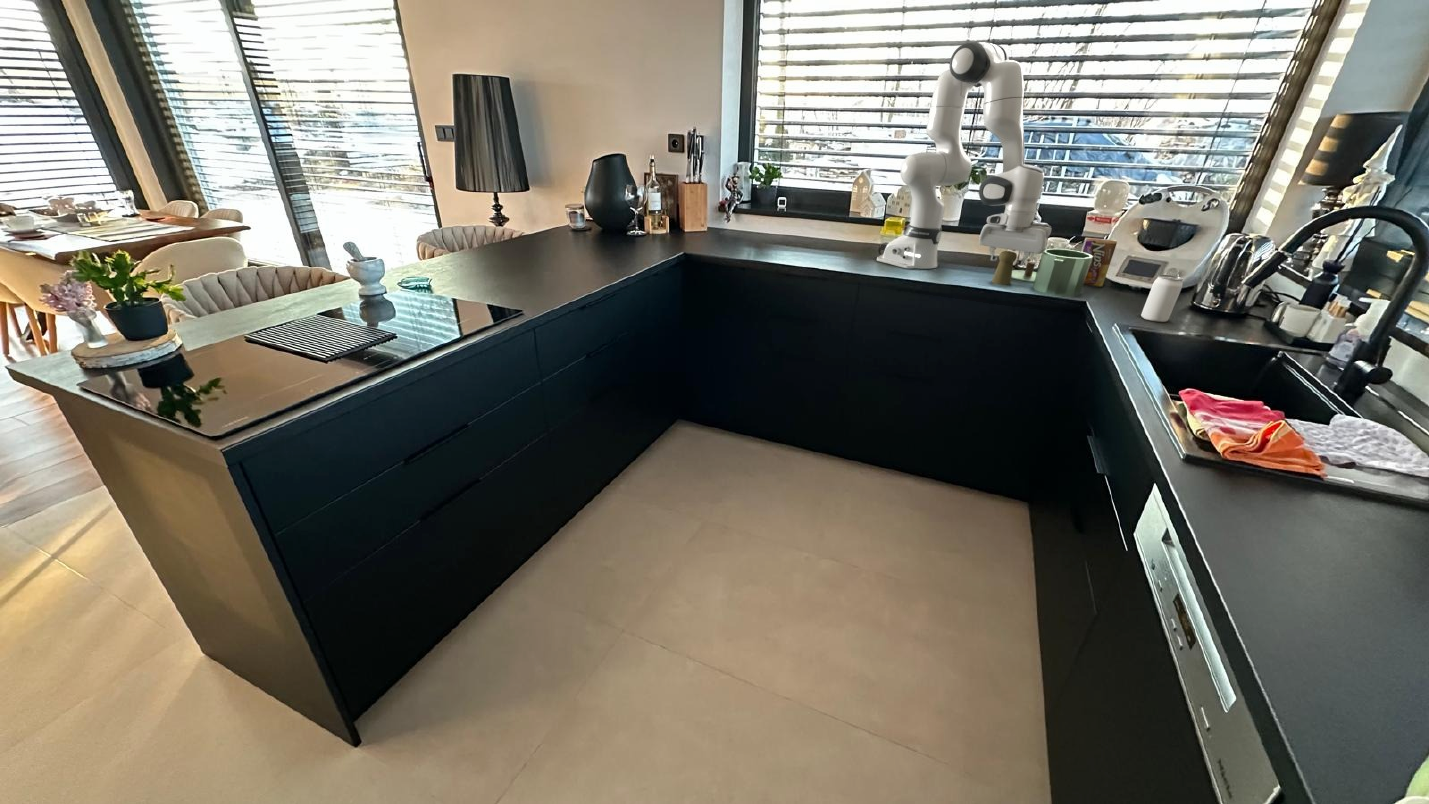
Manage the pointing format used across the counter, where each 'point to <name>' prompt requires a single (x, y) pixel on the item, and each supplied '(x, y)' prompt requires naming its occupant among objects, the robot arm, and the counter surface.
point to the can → (1162, 298)
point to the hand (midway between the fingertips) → (1006, 262)
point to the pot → (1062, 272)
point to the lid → (1025, 273)
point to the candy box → (1098, 259)
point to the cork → (1004, 268)
